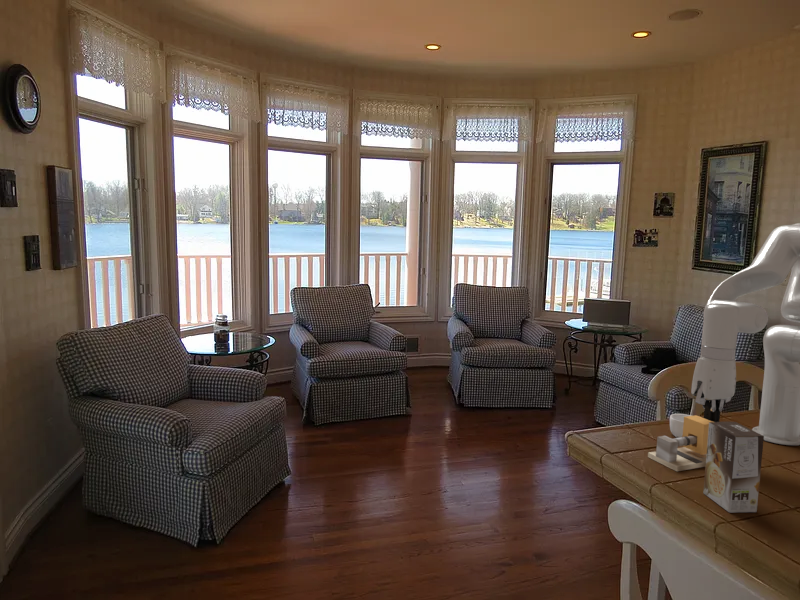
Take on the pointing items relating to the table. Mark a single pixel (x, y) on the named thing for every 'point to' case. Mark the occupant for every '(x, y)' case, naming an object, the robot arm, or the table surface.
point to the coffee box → (733, 466)
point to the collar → (697, 432)
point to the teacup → (677, 424)
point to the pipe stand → (677, 453)
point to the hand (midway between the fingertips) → (710, 425)
